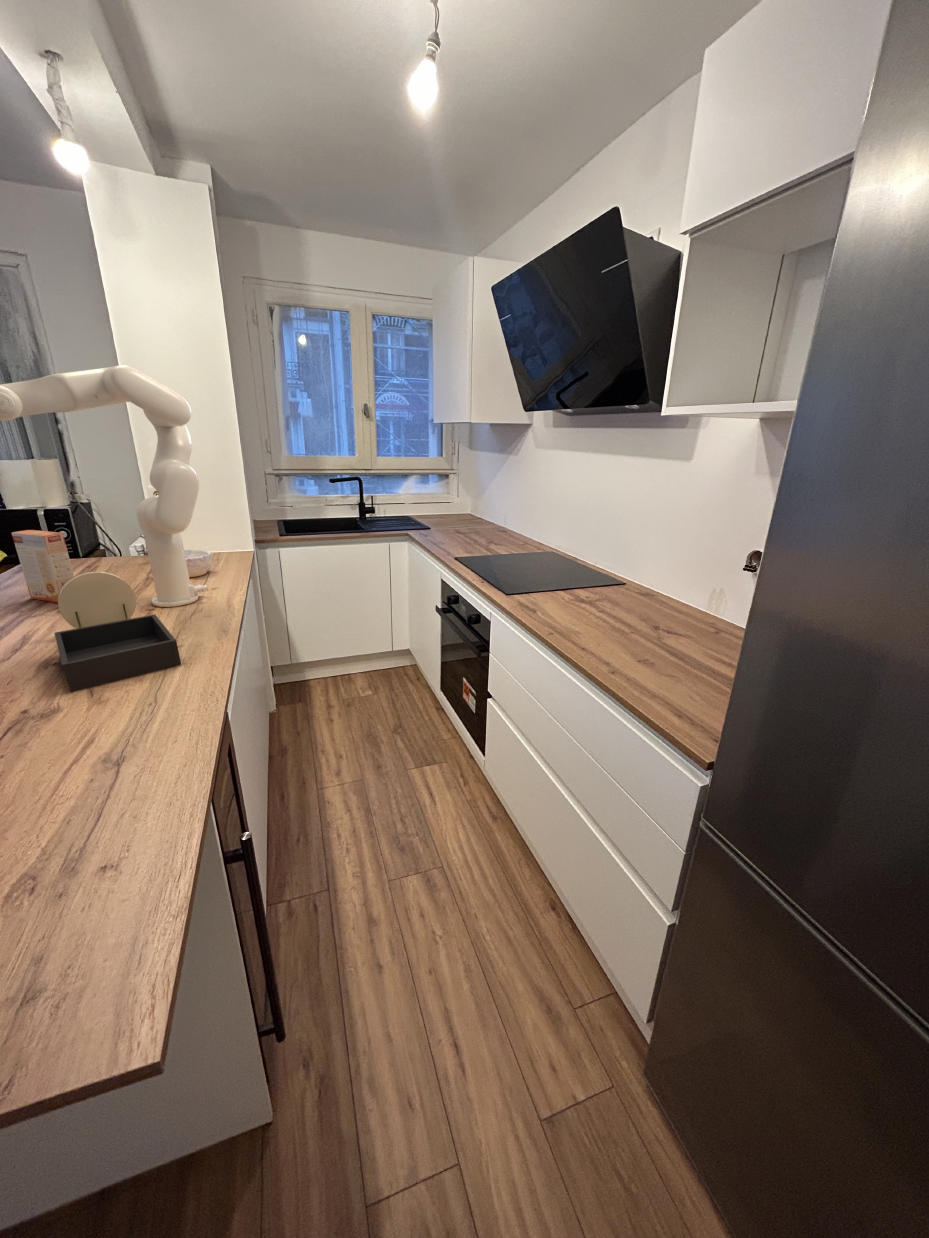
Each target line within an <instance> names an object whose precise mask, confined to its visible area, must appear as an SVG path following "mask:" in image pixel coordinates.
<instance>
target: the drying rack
mask: <svg viewBox="0 0 929 1238" xmlns="http://www.w3.org/2000/svg"><path fill="white" fill-rule="evenodd" d="M122 605H123V609H124V613H125V617H126V619H129V618H128V614H127V610H126V605H125V604H122ZM75 616H76V619H77V623H78V627H79V628H82V626H81V623H80V619H79V615H78V612H77V611H76V612H75Z"/></svg>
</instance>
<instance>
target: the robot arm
mask: <svg viewBox="0 0 929 1238" xmlns="http://www.w3.org/2000/svg"><path fill="white" fill-rule="evenodd" d="M124 403H131V404H133V405H134V406H137V407H138V408H140V409H142V411H143V413H144V416H145V418H147V420H148V421H149V422H150V424H151V425H152V426H153V428H154V430H155V432H156V436H157V443H156V450H155V453H154V458H153V461H152V465H151V469H150V472H149V482H150V485H151V487H152V488H153V489H154V490H156V491H157V492H158V496H151V497H146V498H145V499H143V500H142V501H141V502H140V503H139V504H138V507H137V509H136V517H137V521H138V524H139V527H140V530H141V532H142V535H143V540H144V543H145V549H146V552H147V557H148V561H149V566H150V571H151V576H152V580H153V585H154V586H153V587H154V590H155V595H156V596H155V597H153V598H152V599H151V604H152V605H153V606H155V607H162V608H171V607H180V606H184V605H185V606H186V605H188V604H191V603H195V602H196V601H198V600H199V594H198V593H201V592H209V587H208V584H203V585H202V584H196V585H193V584H192V583H191V580H190V577H189V574H188V569H187V563H186V558H185V553H184V550H185V547H184V542H183V539H182V535H181V533H183V532H184V531H186V529H187V528H188V527H189V526H190V523H191V521H192V518H193V514H194V510H195V506H196V504H197V503H196V502H197V499H198V494H199V490H200V480H199V477H198V474H197V472H196V471H195V469H194V468H193V467H191V465H189V464H190V460H191V453H192V447H193V446H192V445H193V444H192V438H191V434H190V432H189V430H188V427H187V425H186V424H188V423H189V422H190V420H191V417H192V409H191V405H190V404H189V403H188V401H187V400H186V399H185V397H184V396H182V395H180V393H178V392H176V391H175V390H172V389H171V388H169V387H167V386H166V385H164V384H162V383H160V382H159V381H157V380H155V379H154V378H152V377H151V376H149V375H147V374H146V373H144V372H142V371H140V370H139V369H137V368H134V367H132V366H129V365H124V364H120V365H115V366H109V367H101V368H93V369H86V370H85V369H84V370H76V371H69V372H60V373H59V372H58V373H53V374H48V375H45V376H42V377H37V378H34V379H29V380H23V381H22V380H21V381H16V382H9V383H2V384H0V422H6V421H12V420H15V419H17V418H23V417H29V416H35V415H42V414H50V413H51V414H53V413H70V412H79V411H83V410H89V409H95V408H100V407H106V406H113V405H119V404H124Z"/></svg>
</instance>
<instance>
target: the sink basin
mask: <svg viewBox="0 0 929 1238" xmlns="http://www.w3.org/2000/svg"><path fill="white" fill-rule="evenodd" d="M54 637H55V641H56V645H57V650H58V654H59V658H60V663H61V666H62V670H63V673H64V676H65V680H66V683H67V687H68V690H69V692H70V693H71V692H76V691H79V690H80V691H81V690H83V689H88V688H93V687H96V686H99V685H100V686H101V685H105V684H108V683H112V682H116V681H120V680H124V679H128V678H132V677H137V676H140V675H145V674H149V673H152V672H156V671H162V670H165V669H169V668H174V667H178V666H181V665H182V661H181V657H180V651H179V647H178V643H177V639H176V638H175V637H174V636H173V635H172V633H171V632H170V630H169V629H168V628H167V627H166V625H164V622H162V621H161V619H159V617H158V616H157V615H156V614H155V613H153V614H149V615H144V616H139V617H138V616H137V617H131V618H130V619H126V620H121V621H115V622H110V623H104V624H99V625H94V626H88V627H83V628H77V629H76V628H73V629H67V630H61V631H55V632H54Z"/></svg>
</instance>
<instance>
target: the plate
mask: <svg viewBox="0 0 929 1238" xmlns="http://www.w3.org/2000/svg"><path fill="white" fill-rule="evenodd" d="M122 604H125V605H126V610H127V614H128V618H129V619H132V618H133V615H134V613H135V611H136V608H137V598H136V594H135V591H134V590H133V589H132V587H131V585H130V584H129V583H128V582H127V581H126V580H125V579H123V578H122V577H120V576H118V575H116V574H113V573H109V572H106V571H89V572H84V573H81V574H79V575H75V576H74V578H72V579H71V580H70V581H68V582H67V583H66V584H65V585H64V586H63V588H62V589H61V591H60V594H59V597H58V603H57V606H58V610H59V613H60V615H61V617H62V618H63V619H64V621H65V622H66V623H67V624H69V625H70V626H71V627H73V628H74V629H77V628H79V627H78V623H77V619H76V616H75V612H76V611H77V612H78V615H79V619H80V623H81V626H82V628H83V627H88V626H94V625H99V624H104V623H110V622H115V621H121V620H126V617H125V613H124V609H123V605H122Z"/></svg>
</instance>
